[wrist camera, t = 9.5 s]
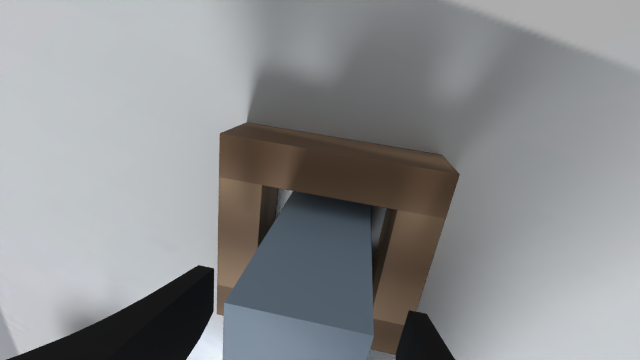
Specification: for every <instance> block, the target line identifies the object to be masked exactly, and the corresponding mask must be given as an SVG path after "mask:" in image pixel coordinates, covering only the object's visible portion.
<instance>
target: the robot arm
mask: <svg viewBox="0 0 640 360" xmlns="http://www.w3.org/2000/svg"><path fill="white" fill-rule="evenodd" d="M213 308H214V268H209V267H204V266H200V265H198V266H197V267H195V268H193V269H191V270H190V271H188V272H186V273H185V274H183V275H182V276H180V277H178V278H177V279H175V280H173V281H172V282H170V283H168V284H167V285H165V286H163V287H162V288H160V289H158V290H157V291H155V292H153V293H151V294H150V295H148V296H146V297H145V298H143V299H141V300H139V301H137V302H135V303H134V304H132V305H130V306H128V307H126V308H124V309H122V310H121V311H119V312H117V313H115V314H113V315H111V316H109V317H107V318H105V319H103V320H101V321H99V322H97V323H95V324H93V325H91V326H88V327H86V328H84V329H82V330H80V331H78V332H75V333H73V334H71V335H68V336H66V337H64V338H61V339H59V340H56V341H54V342H51V343H49V344H46V345H44V346H41V347H39V348H36V349H34V350H31V351H29V352H26V353H24V354H21V355H18V356H15V357H13V358H10V359H7V360H186V359H187V357H188V356H189V354H190V353H191V351H192V350H193V348H194V347H195V345H196V344H197V342H198V340H199V339H200V337H201V335H202V333H203V331H204V329H205V328H206V326H207V324H208V322H209V320H210V317H211V315H212V313H213ZM396 360H455V359H454V357H453V356H452V354H451V353H450V351H449V349H448V348H447V346H446V345H445V343H444V341H443V340H442V338H441V337H440V335H439V333H438V332H437V330H436V328H435V327H434V325H433V323H432V322H431V320H430V319H429V317H428V315H427V314H425V313H420V312H415V311H411V310H409V311H408V314H407V318H406V321H405V324H404V328H403V331H402V334H401V337H400V341H399V344H398V347H397V351H396Z"/></svg>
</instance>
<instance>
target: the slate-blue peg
mask: <svg viewBox="0 0 640 360" xmlns="http://www.w3.org/2000/svg"><path fill="white" fill-rule="evenodd" d="M373 337H374V323H373V287H372V252H371V217H370V205H368V204H362V203H357V202H352V201H346V200H341V199H335V198H330V197H324V196H319V195H313V194H308V193H303V192H297V191H293V193H292V194H291V196H290V197H289V199H288V201H287V202H286V204H285V205H284V207H283V209H282V210H281V212H280V213H279V215H278V217H277V218H276V220H275V222H274V223H273V225H272V226H271V228H270V230H269V231H268V233H267V234H266V236H265V238H264V239H263V241H262V242H261V244H260V246H259V247H258V249H257V251H256V252H255V254H254V255H253V257H252V259H251V260H250V262H249V263H248V265H247V267H246V268H245V270H244V271H243V273H242V275H241V276H240V278H239V280H238V281H237V283H236V284H235V286H234V288H233V289H232V291H231V292H230V294H229V296H228V297H227V299H226V300H225V302H224V327H223V360H368V356H369V353H370V349H371V345H372V341H373Z"/></svg>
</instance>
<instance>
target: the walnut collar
mask: <svg viewBox="0 0 640 360" xmlns="http://www.w3.org/2000/svg"><path fill="white" fill-rule="evenodd" d="M459 175H460V174H459V173H458V172H457V171H456V170H455V169H454V168H453V166H452V165H451V164H450V163H449V162H448V161H447V160H446V159H445V158H444V157H443V156H442V155H439V154H433V153H427V152H421V151H415V150H409V149H403V148H397V147H391V146H384V145H378V144H372V143H366V142H360V141H354V140H348V139H342V138H336V137H330V136H324V135H318V134H312V133H306V132H300V131H294V130H288V129H281V128H275V127H269V126H263V125H257V124H251V123H244V124H242V125H239V126H237V127H234V128H232V129H230V130H227V131H225V132H222V133H220V153H219V214H218V274H217V314H219V315H223V316H224V302H225V300H226V299H227V297H228V296H229V294H230V292H231V291H232V289H233V288H234V286H235V284H236V283H237V281H238V280H239V278H240V276H241V275H242V273H243V271H244V270H245V268H246V267H247V265H248V263H249V262H250V260H251V259H252V257H253V255H254V254H255V252H256V251H257V249H258V247H259V246H260V244H261V242H262V241H263V239H264V238H265V236H266V234H267V233H268V231H269V230H270V228H271V226H272V225H273V223H274V222H275V216H276V205H277V194H278V188H281V189H286V190H292V191H297V192H303V193H308V194H313V195H319V196H324V197H330V198H335V199H341V200H346V201H352V202H357V203H362V204H368V205H373V206H379V207H384V208H387V209H386V213H385V218H384V222H383V226H382V230H381V234H380V239H379V243H378V247H377V251H376V256H375V260H374V264H373V268H372V287H373V323H374V337H373V341H372V345H371V349H373V350H377V351H381V352H386V353H390V354H395V355H396V351H397V347H398V344H399V341H400V337H401V334H402V331H403V328H404V324H405V321H406V318H407V314H408V311H409V310H411V311H415V312H416V310H417V307H418V304H419V301H420V297H421V294H422V291H423V288H424V285H425V282H426V279H427V275H428V272H429V269H430V266H431V263H432V260H433V257H434V254H435V250H436V247H437V244H438V241H439V238H440V235H441V232H442V228H443V225H444V222H445V219H446V216H447V213H448V210H449V206H450V203H451V200H452V197H453V194H454V191H455V188H456V184H457V181H458V178H459Z"/></svg>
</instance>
